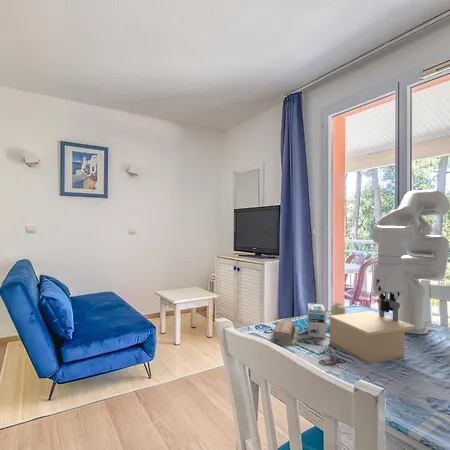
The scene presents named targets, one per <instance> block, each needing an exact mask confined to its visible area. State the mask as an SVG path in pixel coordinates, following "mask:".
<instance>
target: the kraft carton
mask: <svg viewBox="0 0 450 450" xmlns="http://www.w3.org/2000/svg"><path fill="white" fill-rule="evenodd" d="M405 333H406V332H405V331H397V332H390V333H383V334H377V335H370V336H368V335H365V334H363V333H361V332H359V331H356V330H354V329H352V328H350V327H347V326H345V325H343V324H341V323H338V322H336V321H334V320H332V319H330V320H329V344H330V345H332V346H333V347H335V348H337V349H339V350H340V351H343V352H344V353H346V354H347V355H350V356H351V357H353V358H355V359H357V360H358V361H361V363H364V364H366V365H368V364H374V363H381V362H386V361H393V360H399V359H404V358H405V344H406V343H405V342H406V341H405V340H406V337H405V335H406V334H405Z"/></svg>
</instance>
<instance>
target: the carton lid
mask: <svg viewBox="0 0 450 450" xmlns="http://www.w3.org/2000/svg"><path fill="white" fill-rule="evenodd" d="M388 301H389V307H392V308H393V311H392V317H390V316H388V315H385V312H384V311H381V300H380V298H379V297H378V299H377V303H378V304H379V305H378V306H379V307H378V310H379V311H378V312H377V311H376V312H375V311H373V310H368V311H367V310H366V311H360V312H351V313H349V312H348V313H345V314H340V315H331V314H330V315H329V316H328V318H329V319H332V320H334V321H336V322H338V323H341V324H343V325H345V326H347V327H350V328H352V329H354V330H356V331H359V332H361V333H363V334H365V335H368V336H370V335H377V334H383V333H390V332H397V331H404V330H410V329H415V326H414V325H411V324H408V323H405V322H402V321H399V320H398V309H399V308H400V303H399V302H398V301H396V302H395V301H392V300H388Z"/></svg>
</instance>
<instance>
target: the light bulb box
mask: <svg viewBox="0 0 450 450" xmlns="http://www.w3.org/2000/svg"><path fill="white" fill-rule="evenodd" d="M306 322H307V325H306V326H307V327H306V328H307V335H308V337H312V338H323V339H326V338H327V335H326V333H327V332H326V331H327V310H326V308H325V306H324V304H321V303H320V304H319V303H310V302H309V303H308V302H307V321H306Z"/></svg>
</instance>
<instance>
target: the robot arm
mask: <svg viewBox="0 0 450 450" xmlns="http://www.w3.org/2000/svg"><path fill="white" fill-rule="evenodd" d="M449 211H450V200H449V198H448V196H446V194H444V193H443V192H442V191H440V190H437V189H426V190H425V189H423V190H420V189H419V190H411V191H408V192H406V193H405V194H404V195H403V197H402V199H401V201H400V203H399V205H398V207H397V208H396V209H395V210H394V209H393V210H391V212H388V213H387V214H385V215H383V216H381V217H380V218H379V219H378V220H377V222H376V223H375V225H374V228H373V230H372V233H371V237H372V241H373V243H375V244H376V245H377V263H376V264H375V267H374V273H373V283H372V289H373V294H374V295H376V296H377V297H378V298H380V300H381V311H384V313H390V311H391V312H393V308H392V307H389V301H388V300H392V301H395V302H399V303H400V308H399V309H398V320H399V321H402V322H405V323H408V324H411V325H414V326H415V329H410V330H404V331H405V333H406V334H412V335H427V334H428V333H429V329H428V328H427V327H426V326H427V325H432V321H431V320H430V319H425V293H426V292H425V287H424V286H423V284H422V283H421V281H420V280H425V281H434V282H438V281H439V282H440V281H442V280H443V279H444V278H445V277H446V272H447V266H448V260H449V253H450V243H449V240H448V238H447V237H446V236H445V235H440V234H431V233H432V227H431V224H430V223H429V222H428V220H426V219H425V218H424V217H422V216H445V215H447V214H448V213H449ZM402 247H404V248H405V249H404V251H405V252H406V253H407V254H408V255H406V254H405V255H402Z"/></svg>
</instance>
